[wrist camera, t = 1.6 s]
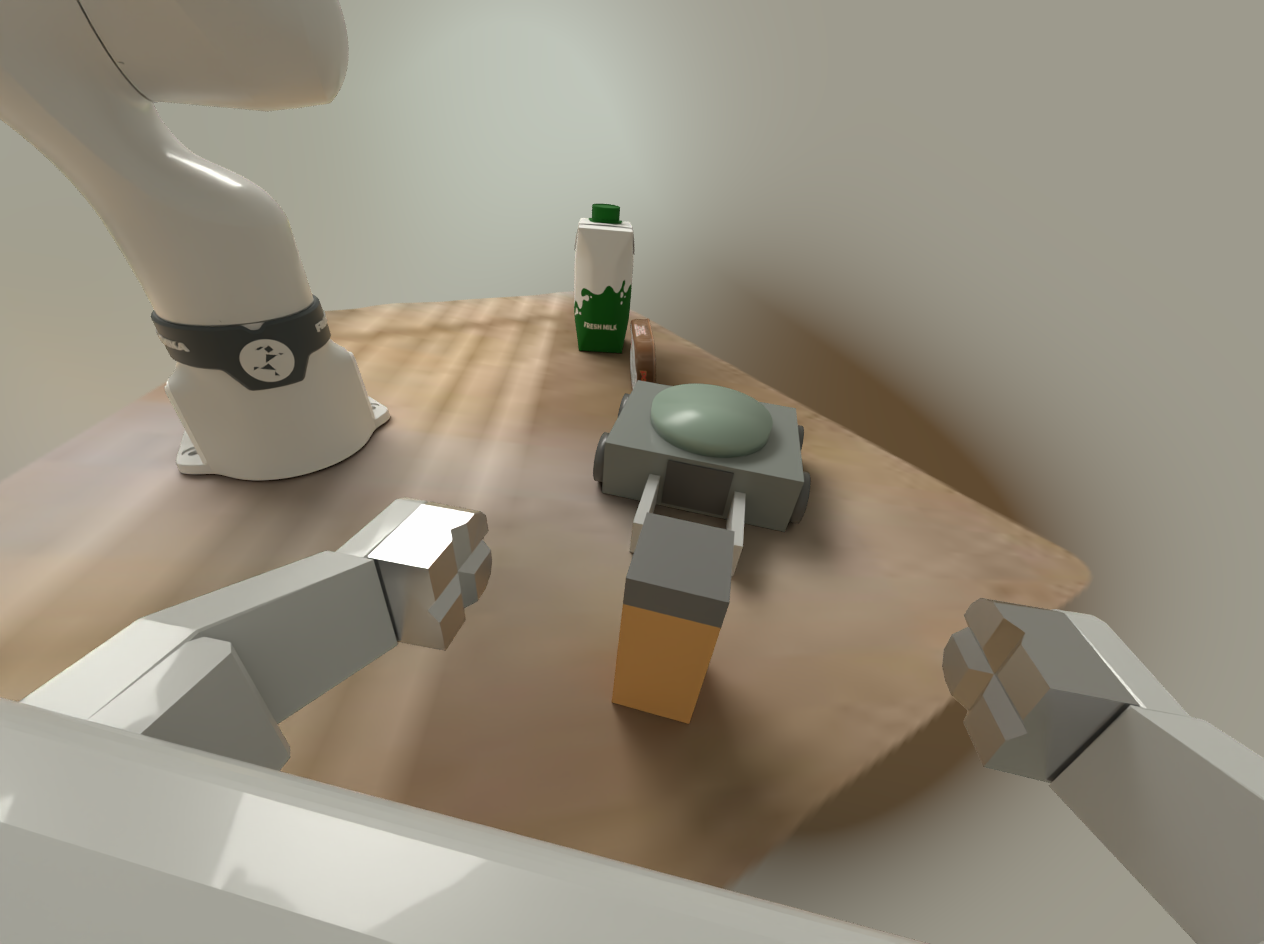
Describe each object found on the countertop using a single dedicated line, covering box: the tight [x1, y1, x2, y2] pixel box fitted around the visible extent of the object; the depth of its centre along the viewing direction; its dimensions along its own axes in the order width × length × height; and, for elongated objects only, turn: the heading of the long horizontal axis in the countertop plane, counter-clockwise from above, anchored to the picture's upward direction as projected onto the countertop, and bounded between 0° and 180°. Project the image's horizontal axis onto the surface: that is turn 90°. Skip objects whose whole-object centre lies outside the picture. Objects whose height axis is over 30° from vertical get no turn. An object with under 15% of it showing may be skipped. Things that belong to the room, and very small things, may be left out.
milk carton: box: [574, 204, 634, 353], centre depth 71 cm, size 9×9×20 cm
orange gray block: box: [612, 512, 735, 724], centre depth 28 cm, size 5×5×12 cm
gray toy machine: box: [593, 380, 810, 576], centre depth 45 cm, size 21×20×8 cm
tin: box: [630, 319, 656, 390], centre depth 64 cm, size 15×3×8 cm, turn 3°
